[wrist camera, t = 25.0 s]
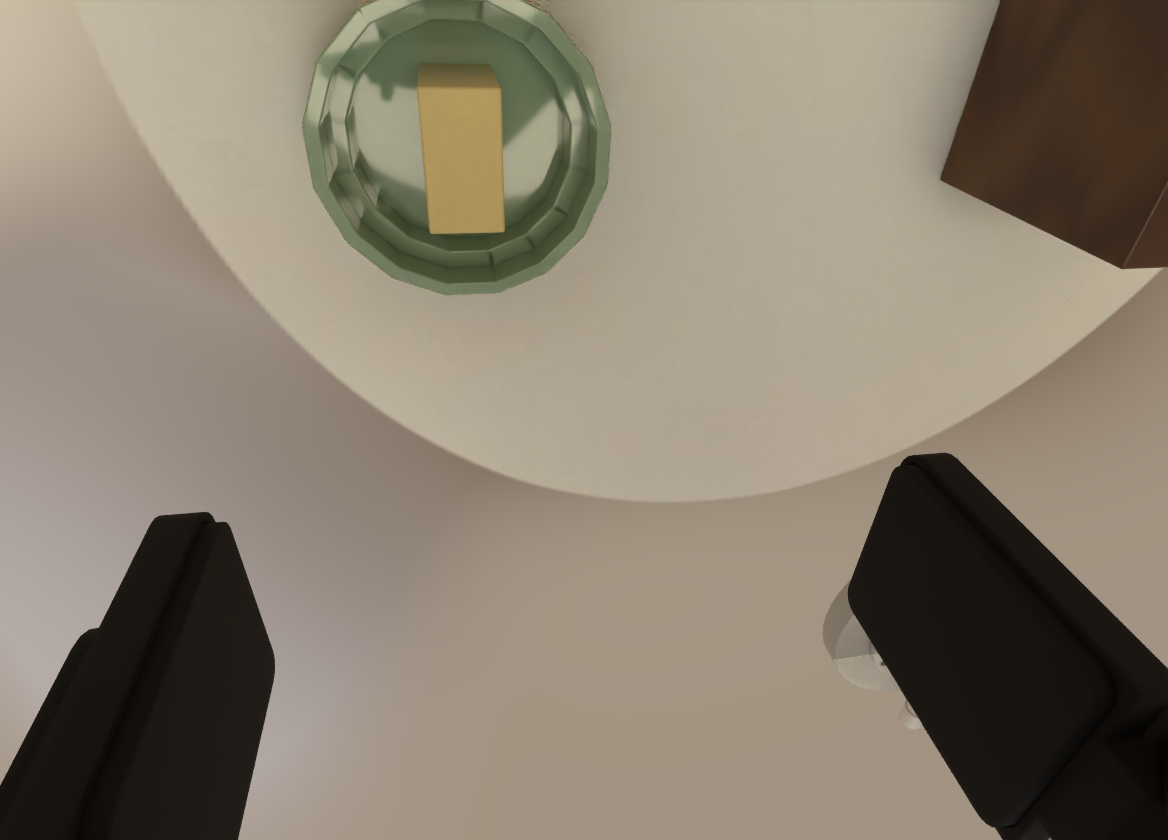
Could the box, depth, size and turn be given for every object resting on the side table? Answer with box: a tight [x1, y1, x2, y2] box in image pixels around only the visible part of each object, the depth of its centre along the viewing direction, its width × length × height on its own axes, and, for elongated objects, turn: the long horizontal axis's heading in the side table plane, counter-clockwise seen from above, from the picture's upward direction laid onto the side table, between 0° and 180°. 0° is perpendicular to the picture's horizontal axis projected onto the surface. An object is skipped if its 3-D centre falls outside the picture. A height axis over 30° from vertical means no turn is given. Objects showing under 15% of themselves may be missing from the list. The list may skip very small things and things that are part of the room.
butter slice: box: [417, 63, 505, 234], centre depth 23 cm, size 4×2×4 cm, turn 177°
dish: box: [302, 0, 611, 295], centre depth 24 cm, size 10×10×4 cm
